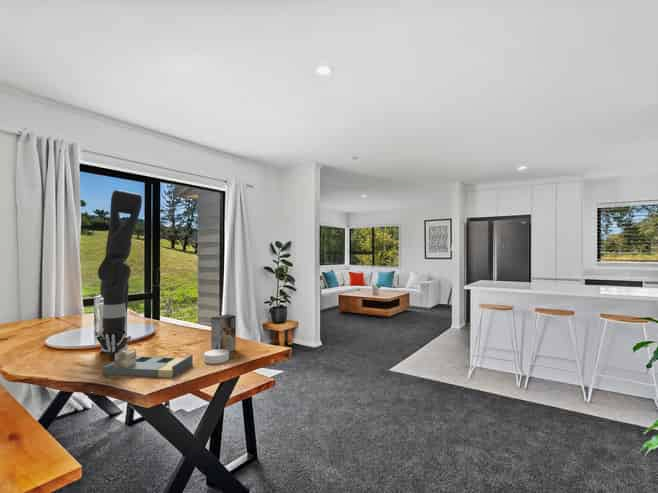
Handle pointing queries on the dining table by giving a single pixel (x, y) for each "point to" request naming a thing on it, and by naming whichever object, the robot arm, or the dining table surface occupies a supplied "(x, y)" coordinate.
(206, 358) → the white ridged round container
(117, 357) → the block
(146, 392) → the dining table surface
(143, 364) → the box
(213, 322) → the coffee box
